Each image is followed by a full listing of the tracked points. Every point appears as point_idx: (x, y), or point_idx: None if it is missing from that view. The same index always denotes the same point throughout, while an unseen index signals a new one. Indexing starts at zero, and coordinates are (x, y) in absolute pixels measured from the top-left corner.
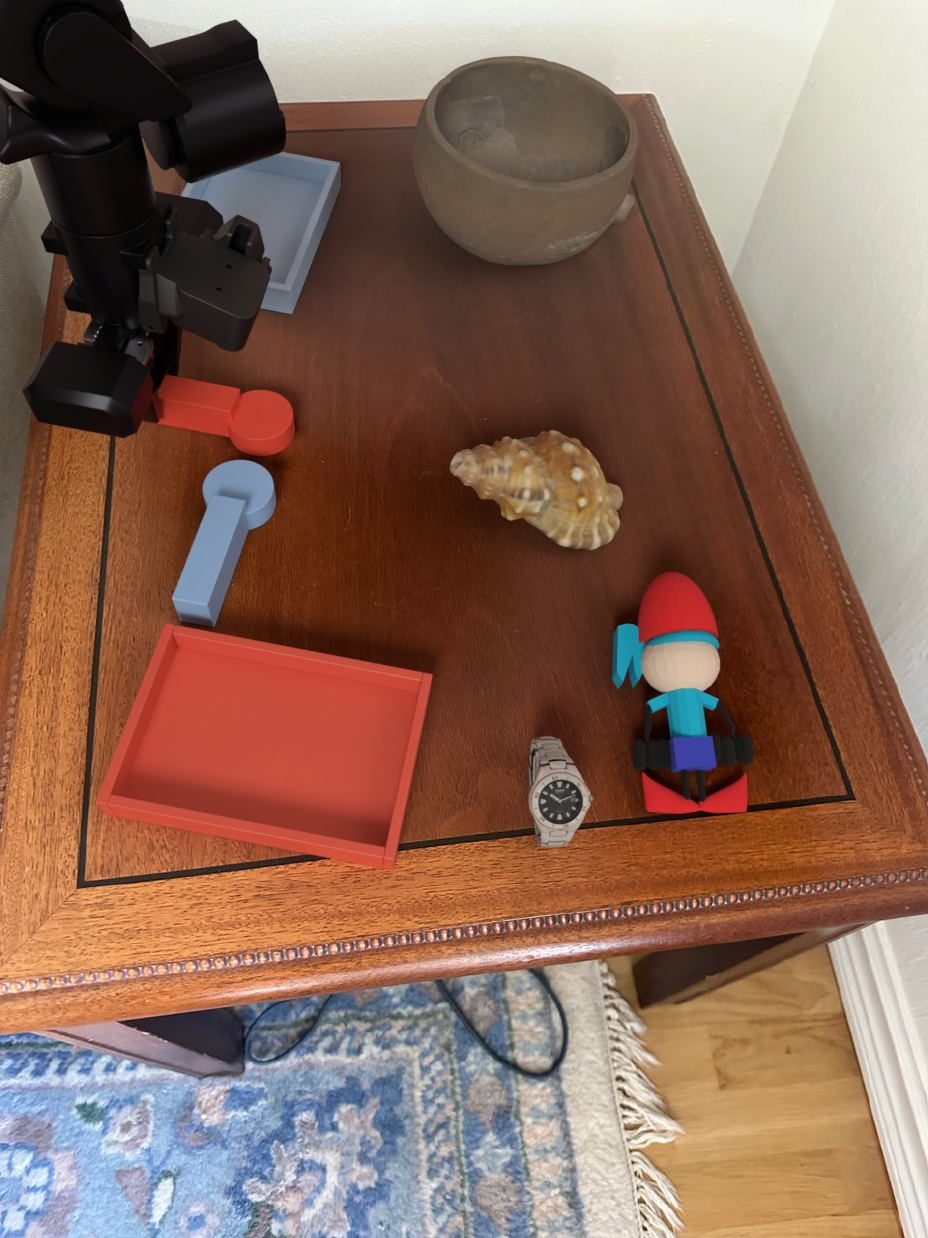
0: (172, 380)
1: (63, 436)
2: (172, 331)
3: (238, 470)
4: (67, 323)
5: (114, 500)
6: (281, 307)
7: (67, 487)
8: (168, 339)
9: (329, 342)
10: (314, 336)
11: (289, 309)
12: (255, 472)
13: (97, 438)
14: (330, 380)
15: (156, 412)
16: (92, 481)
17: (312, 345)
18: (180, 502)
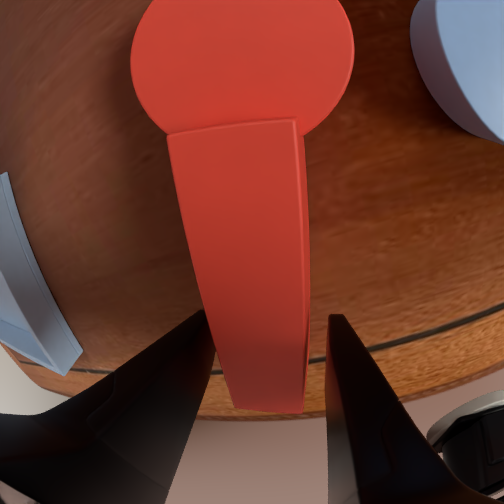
0: (230, 339)
1: None
2: (115, 435)
3: (478, 56)
4: None
5: (485, 306)
6: (4, 190)
7: (452, 365)
8: (141, 417)
9: (17, 87)
10: (16, 115)
11: (1, 177)
12: (466, 9)
13: None
14: (70, 26)
15: (361, 346)
16: (447, 346)
17: (26, 106)
18: (499, 196)
